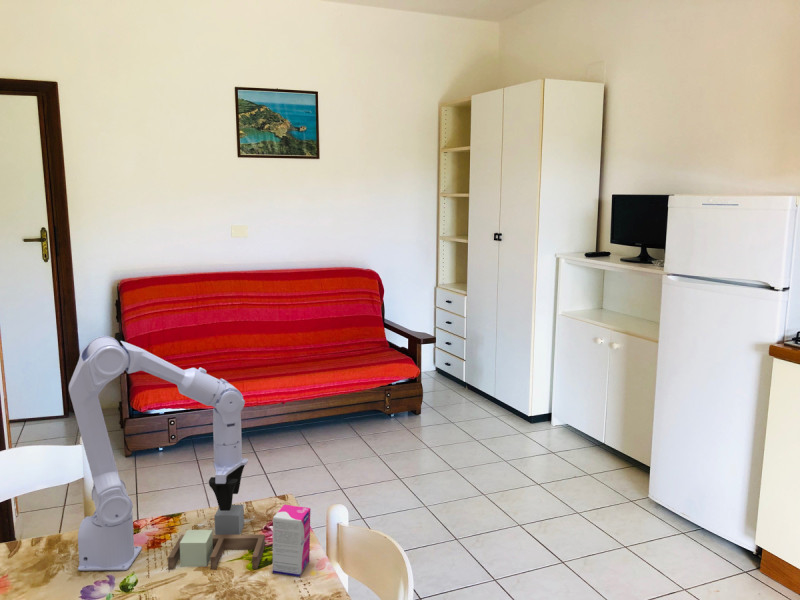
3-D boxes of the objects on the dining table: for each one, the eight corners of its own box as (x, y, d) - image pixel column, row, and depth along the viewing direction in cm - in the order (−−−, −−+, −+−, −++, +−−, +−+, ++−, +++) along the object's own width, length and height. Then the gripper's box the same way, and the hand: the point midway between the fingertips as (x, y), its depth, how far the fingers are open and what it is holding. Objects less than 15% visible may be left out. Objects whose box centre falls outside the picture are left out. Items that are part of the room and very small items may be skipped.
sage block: (180, 567, 125) (179, 542, 124) (187, 553, 129) (187, 530, 129) (206, 566, 125) (205, 542, 124) (213, 553, 130) (212, 529, 129)
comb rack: (168, 569, 123) (167, 557, 123) (181, 546, 132) (181, 534, 131) (257, 568, 124) (257, 556, 124) (264, 545, 133) (264, 534, 132)
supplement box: (300, 577, 122) (300, 520, 120) (271, 573, 123) (270, 517, 121) (311, 561, 127) (311, 506, 125) (283, 557, 128) (282, 503, 127)
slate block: (215, 537, 136) (214, 515, 135) (220, 526, 140) (220, 504, 140) (239, 537, 136) (238, 515, 135) (243, 526, 141) (243, 504, 140)
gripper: (239, 453, 128) (241, 517, 130) (253, 428, 142) (254, 486, 144) (203, 453, 128) (206, 517, 130) (221, 428, 142) (222, 486, 144)
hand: (229, 501), depth 137 cm, fingers open, 7 cm apart
